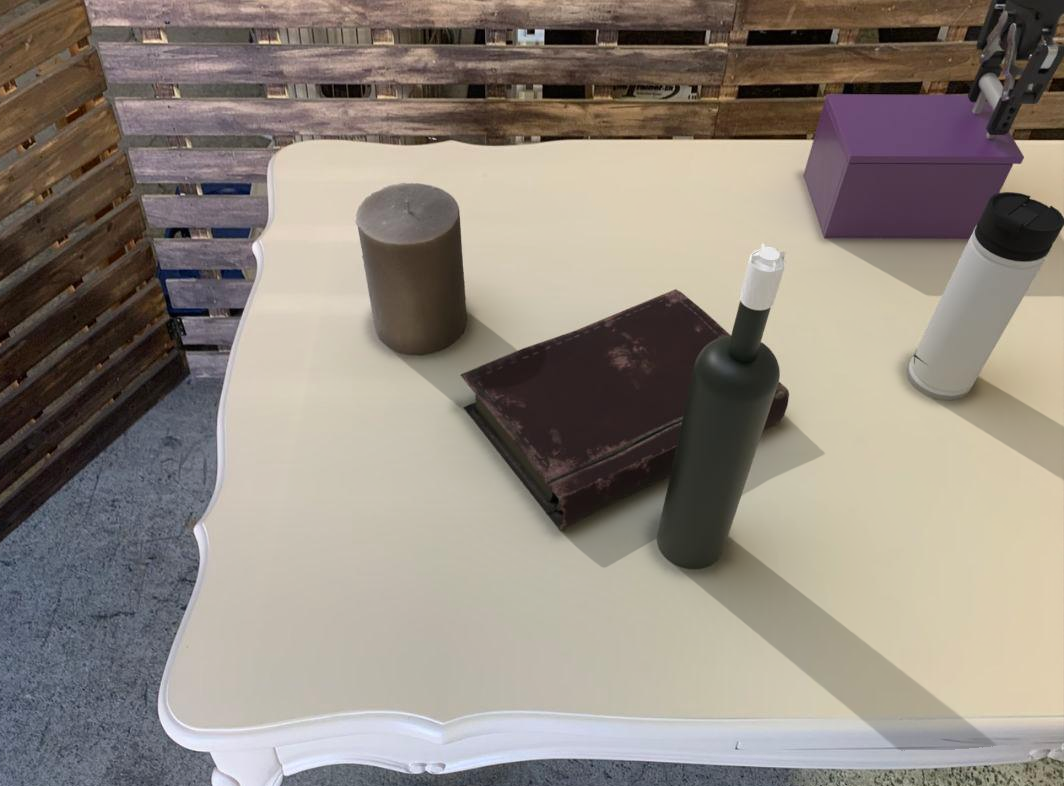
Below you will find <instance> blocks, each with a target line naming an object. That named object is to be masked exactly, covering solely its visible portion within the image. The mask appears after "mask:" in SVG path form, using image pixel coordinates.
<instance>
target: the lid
mask: <svg viewBox="0 0 1064 786" xmlns="http://www.w3.org/2000/svg"><path fill="white" fill-rule="evenodd" d="M1003 86H1004V85H1003V84H1002V83H1001V81H1000V79H999V78H997V76H996V74H994V73H987V74H985V75H983V76H982V77H981V79H980V81H979V87H980V89H981V91H980V94H979V96H978V98H977V101H976V102H971V101H970V100H969V98H968V94H876V93H875V94H874V93H873V94H867V93H865V94H864V93H863V94H862V93H861V94H859V93H858V94H857V93H852V94H851V93H826V95H825V99H824V102H826V105H827V107H828V110H829V113H830V115H831V118H832V120H833V123H834V126H835V128H836V131H837V133H838V136H839V139H840V141H841V144H842V146H843V149H844V152H845V154H846V157H847V159H848V162H849V163H960V164H1013V165H1021V164H1022V163H1023V161H1024V159H1025V156H1024V154H1023V152H1022V151H1021V149H1020V147H1019V146H1018V144H1017V143H1016V141H1015V139H1014V137H1013V136H1012V133H1010V131H1009V132H1008V133H1007V134H1005V135H990V134H989V133H988V131H987V130H986V128H987V125H988V123H989V121H990V119H991V116H992V114H993V112H994V110H995V107H996V105H997V103H998V101H999V98H1000V97H1001V95H1002V91H1003ZM986 99H987V101H986ZM985 101H986V102H985Z"/></svg>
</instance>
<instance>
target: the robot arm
mask: <svg viewBox="0 0 1064 786" xmlns="http://www.w3.org/2000/svg"><path fill="white" fill-rule="evenodd" d="M1063 15H1064V0H991V1H990V4H989V6H988V9H987V12H986V15H985V17H984V21H983V24H982V26H981V30H980V33H979V35H978V39H977V41H976V47H975V48H976V50H977V51H981V52H980V54H979V57H978V64H980V65H979V68H978V69H977V72H976V75H975V77H974V79H973V82H972V84H971V87H970V89H969V92H968V94H967V95H968V98H969V100H970V101H971V102H976V101H977V98H978V96H979V94H980V91H981V89H980V87H979V81H980V79H981V77H982V76H983V75H985V74H987V73H994V74H996V76H997V78H998V79H999V78H1000V75H1001V73H1002V74H1003V75H1004V77H1005V78H1004V83H1003V85H1002V86H1003V91H1002V95H1001V97H1000V98H999V101H998V103H997V105H996V107H995V110H994V112H993V114H992V116H991V119H990V121H989V123H988V125H987V128H986V130H987V131H988V133H989V134H990V135H1005V134H1007V133H1008V132H1010V130H1011V128H1012V126H1013V124H1014V122H1015V119H1017V116H1018V113H1019V111H1020V110H1021V107H1022V106H1023V105H1037V104H1038V103H1039V102H1040V100H1041V98H1042V96H1043V94H1044V92H1045V91H1046V89H1047V87H1048V86H1049V84H1050V82H1051V80H1052V78H1053V77H1054V75H1055V73H1056V71H1057V69H1058V68H1059V66H1060V65H1061V63H1062V61H1063V60H1064V44H1060V45H1059V44H1058V45H1057V44H1056V43H1055V39H1054V38H1055V35H1056V32H1057V28H1058V24H1059V21H1060V18H1061V17H1062V16H1063ZM993 27H994V28H993ZM992 29H993V30H992ZM1016 62H1027V64H1026V66H1017V64H1016ZM1018 76H1020V77H1019V79H1018V80H1017V82H1016V78H1017V77H1018ZM1015 84H1016V85H1015ZM986 101H987V99H986ZM986 101H985V102H986Z"/></svg>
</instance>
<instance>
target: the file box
mask: <svg viewBox="0 0 1064 786" xmlns="http://www.w3.org/2000/svg"><path fill="white" fill-rule="evenodd" d="M805 164H806V165H805V168H804V172H803V179H804V182H805V185H806V188H807V191H808V194H809V197H810V201H811V203H812V206H813V209H814V212H815V215H816V216H815V217H816V219H817V221H818V224H819V228H820V231H821V234H822V236H823V239H864V240H865V239H867V240H868V239H869V240H870V239H872V240H873V239H874V240H875V239H878V240H879V239H880V240H881V239H882V240H883V239H884V240H885V239H886V240H887V239H891V240H893V239H894V240H896V239H898V240H900V239H901V240H902V239H903V240H904V239H905V240H912V239H913V240H969V239H970V237H971V235H972V233H973V231H974V229H975V227H976V225H977V224H978V222H979V220H980V218H981V216H982V214H983V212H984V209H985V207H986V205H987V203H988V201H989V199H990V198H991V197H992V196H993V195H995V194H998V193H1001V190H1002V189H1003V186H1004V184H1005V182H1006V181H1007V178H1008V177H1009V174H1010V172H1011V170H1012V168H1013V166H1014V164H960V163H849V162H848V159H847V157H846V154H845V152H844V149H843V146H842V144H841V141H840V139H839V136H838V133H837V131H836V128H835V126H834V123H833V120H832V118H831V115H830V113H829V110H828V107H827V105H826V102H825V101H824V102H823V105H822V109H821V112H820V115H819V119H818V123H817V126H816V130H815V134H814V137H813V140H812V144H811V148H810V150H809V154H808V157H807V161H806V163H805Z"/></svg>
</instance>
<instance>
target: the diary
mask: <svg viewBox="0 0 1064 786" xmlns="http://www.w3.org/2000/svg"><path fill="white" fill-rule="evenodd" d="M729 335H731V333H729V332H728V331H727V330H726V329H724V327H722V326H721V325H720V323H718V322H717V321H716V320H715V319H714V318H712V316H711V315H709V314H708V313H707V312H706V311H705V310H704V309H703V308H702V307H700V306H699V305H697V304H696V303H695V302H694V301H693V300H692V299H690V298H689V297H688V296H686V294H684V293H683V292H682V291H681V290H678V289H676V288H675V289H673V290H670V291H668V292H665V293H662V294H661V295H658V296H656V297H654V298H651V299H649V300H646V301H644V302H641V303H639V304H636V305H634V306H631V307H629V308H626V309H624V310H622V311H619V312H617V313H615V314H612V315H609V316H607V317H604V318H602V319H600V320H597V321H595V322H592V323H591V324H588V325H585V326H583V327H580V328H578V329H576V330H573V331H570V332H567V333H565V334H561V335H558V336H556V337H555V336H554V337H553V338H549V339H546V340H544V341H540V342H537V343H535V344H532V345H530V346H526V347H524V348H521V349H519V350H516V351H514V352H511V353H509V354H506V355H504V356H501V357H499V358H497V359H494V360H492V361H490V362H486V363H485V364H482V365H480V366H477V367H476V368H473V369H471V370H468V371H466V372H463V373H461V374H460V377H461V378H462V379H463V381H464V382H465V383H466V384H467V386H468V387H469V388H470V389H471V390H472V392H473V393H474V394H475V402H472V403H470V404H467V405H466V406H463V407H462V408H463V409H464V410H465V412H466V413H467V415H468V416H469V417H470V418H471V419H472V421H473V422H474V423H475V424H476V426H477V427H478V429H479V430H480V431H481V432H482V434H483V435H484V436H485V437H486V439H487V440H488V441H489V443H490V444H491V445H492V446H493V448H494V449H495V450H496V451H497V452H498V454H499V455H500V456H501V458H502V459H503V461H504V462H506V464H507V465H508V467H509V468H510V469H511V471H513V473H514V474H515V476H516V477H517V478H518V479H519V481H520V482H521V483H522V484H523V486H524V487H525V488H526V489H527V491H528V492H529V494H530V495H531V496H532V497H533V498H534V500H535V501H536V502H537V504H538V505H539V506H540V507H541V509H542V510H543V512H545V514H546V516H547V517H548V518H549V519H550V520H551V521H552V523H553V524H554V525H555V527H556V528H557V529H558V530H559V531H562V530H564V529H565V528H568V527H571V526H572V525H574V524H575V523H577V522H579V521H582V520H583V519H586V518H588V517H590V516H592V515H593V514H595V513H597V512H599V511H601V510H603V509H605V508H607V507H608V506H610V505H612V504H614V503H616V502H618V501H620V500H622V499H624V498H626V497H628V496H630V495H633V494H634V493H637V492H638V491H641V490H643V489H645V488H647V487H649V486H651V485H654V484H656V483H658V482H660V481H662V480H664V479H667V478H670V474H671V470H672V465H673V461H674V456H675V452H676V447H677V443H678V438H679V434H680V429H681V424H682V420H683V415H684V411H685V406H686V402H687V397H688V393H689V388H690V384H691V379H692V375H693V370H694V365H695V362H696V359H697V357H698V355H699V354H700V352H701V351H702V350H703V348H704V347H705V346H706V345H708V344H709V343H710V342H712V341H714V340H716V339H718V338H721V337H724V336H729ZM789 399H790V392H789V389H788V388H787V387H786V386H785V385H784V384H782V382H781V381H779V383H778V386H777V389H776V392H775V395H774V398H773V401H772V404H771V407H770V410H769V414H768V417H767V420H766V423H765V426H764V429H763V431H764V430H767V429H769V428H771V427H773V426H775V425H777V424H779V423H780V422H781V421H782V420H783V418H784V416H785V414H786V411H787V409H788V405H789Z"/></svg>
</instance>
